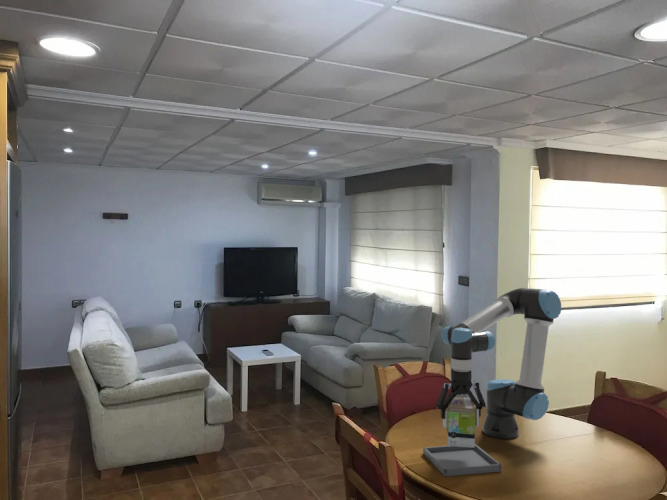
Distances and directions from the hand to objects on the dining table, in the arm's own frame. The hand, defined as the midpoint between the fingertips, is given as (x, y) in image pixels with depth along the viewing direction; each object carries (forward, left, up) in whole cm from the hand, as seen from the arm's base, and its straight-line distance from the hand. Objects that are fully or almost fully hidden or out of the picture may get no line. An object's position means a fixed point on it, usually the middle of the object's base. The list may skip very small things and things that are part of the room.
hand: (460, 426), depth 205 cm
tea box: (0, 0, -6) cm, 6 cm away
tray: (0, 0, -14) cm, 14 cm away
